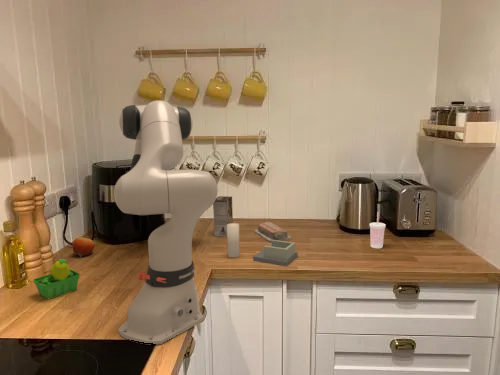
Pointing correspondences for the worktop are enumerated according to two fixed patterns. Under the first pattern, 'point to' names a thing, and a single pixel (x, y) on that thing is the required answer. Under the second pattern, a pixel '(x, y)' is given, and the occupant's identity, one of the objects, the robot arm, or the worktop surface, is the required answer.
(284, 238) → the packaged product
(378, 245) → the beverage cup
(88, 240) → the fruit
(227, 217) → the coffee box
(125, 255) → the worktop surface
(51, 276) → the fruit basket
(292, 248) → the cradle jig
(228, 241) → the tall white cylinder
